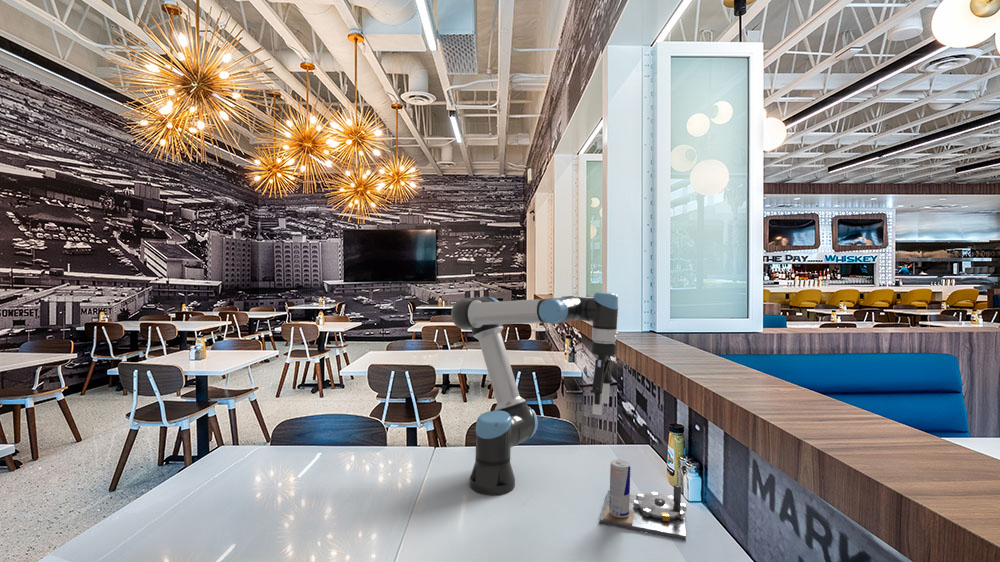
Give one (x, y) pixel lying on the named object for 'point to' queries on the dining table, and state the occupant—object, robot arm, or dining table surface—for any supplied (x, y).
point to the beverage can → (619, 488)
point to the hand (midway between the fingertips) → (600, 408)
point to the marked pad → (626, 520)
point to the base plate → (648, 522)
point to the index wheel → (661, 505)
